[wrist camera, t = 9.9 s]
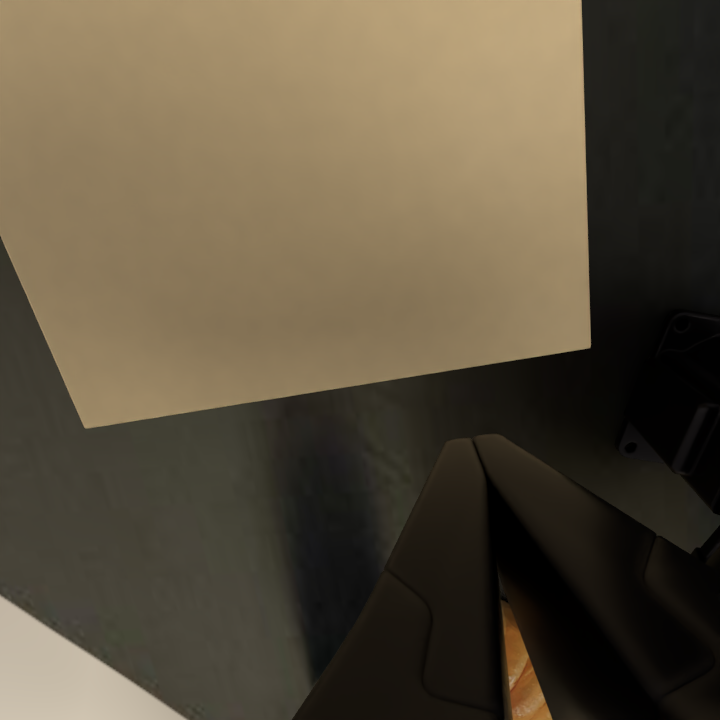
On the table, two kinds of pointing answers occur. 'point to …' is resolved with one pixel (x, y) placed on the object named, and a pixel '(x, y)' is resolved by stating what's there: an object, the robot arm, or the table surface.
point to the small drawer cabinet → (291, 192)
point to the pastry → (521, 674)
